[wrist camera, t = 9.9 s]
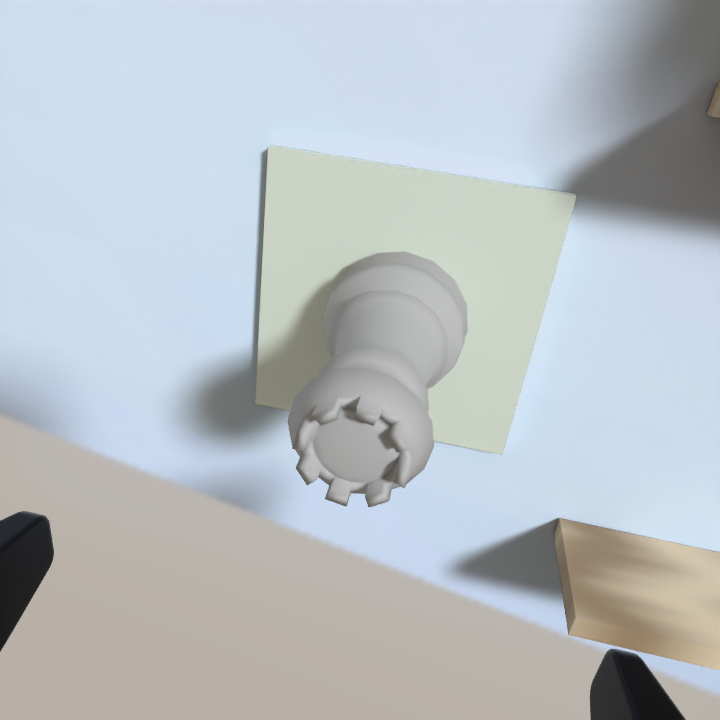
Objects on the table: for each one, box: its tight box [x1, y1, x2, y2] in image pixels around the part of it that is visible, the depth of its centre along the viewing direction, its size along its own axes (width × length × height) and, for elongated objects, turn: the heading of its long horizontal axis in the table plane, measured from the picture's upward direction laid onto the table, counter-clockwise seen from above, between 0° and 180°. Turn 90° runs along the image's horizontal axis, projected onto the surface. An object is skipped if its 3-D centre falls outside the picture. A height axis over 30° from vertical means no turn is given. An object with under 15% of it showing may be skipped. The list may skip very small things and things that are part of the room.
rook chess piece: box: [288, 252, 468, 507], centre depth 16 cm, size 4×4×8 cm
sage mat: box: [255, 145, 577, 455], centre depth 20 cm, size 9×9×1 cm
